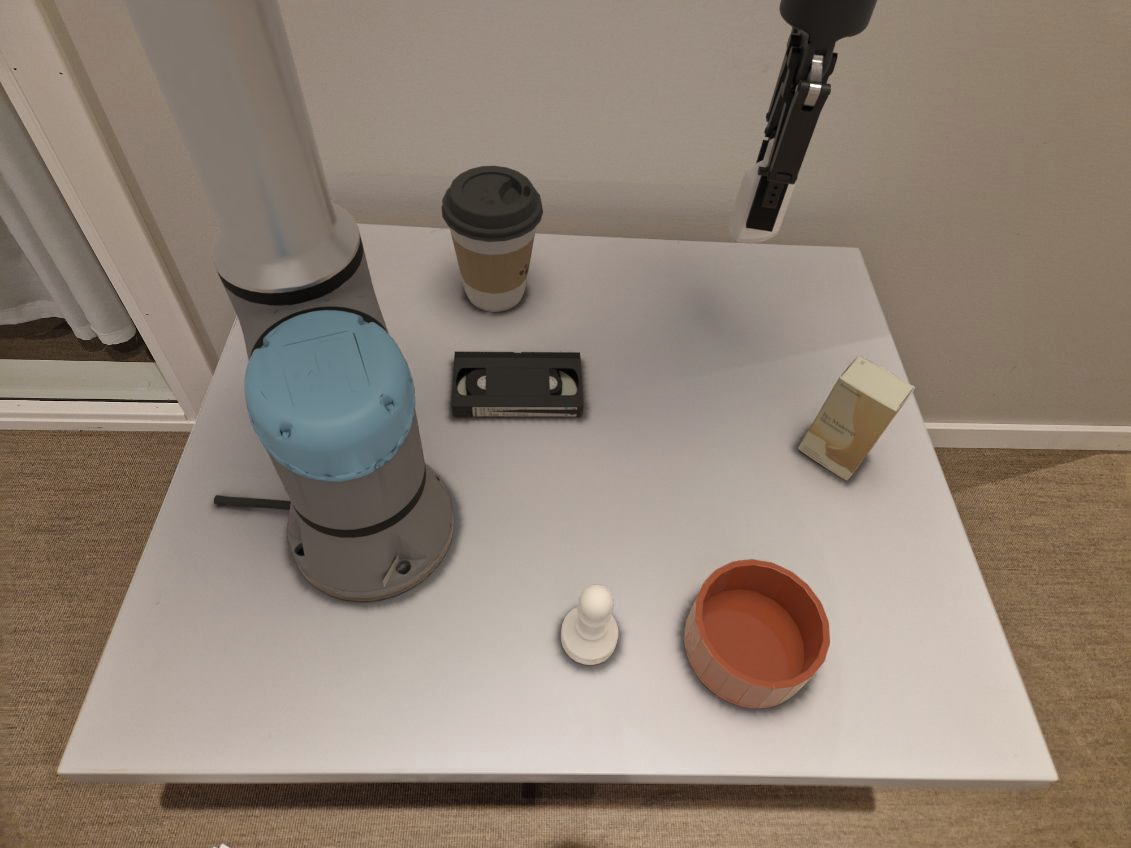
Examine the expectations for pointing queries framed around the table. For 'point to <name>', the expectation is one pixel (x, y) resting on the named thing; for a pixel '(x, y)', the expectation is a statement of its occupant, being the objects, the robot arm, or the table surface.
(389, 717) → the table surface
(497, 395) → the vhs tape
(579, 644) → the chess pawn
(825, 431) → the cosmetic box
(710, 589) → the crock
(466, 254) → the coffee cup
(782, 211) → the eye dropper bottle
